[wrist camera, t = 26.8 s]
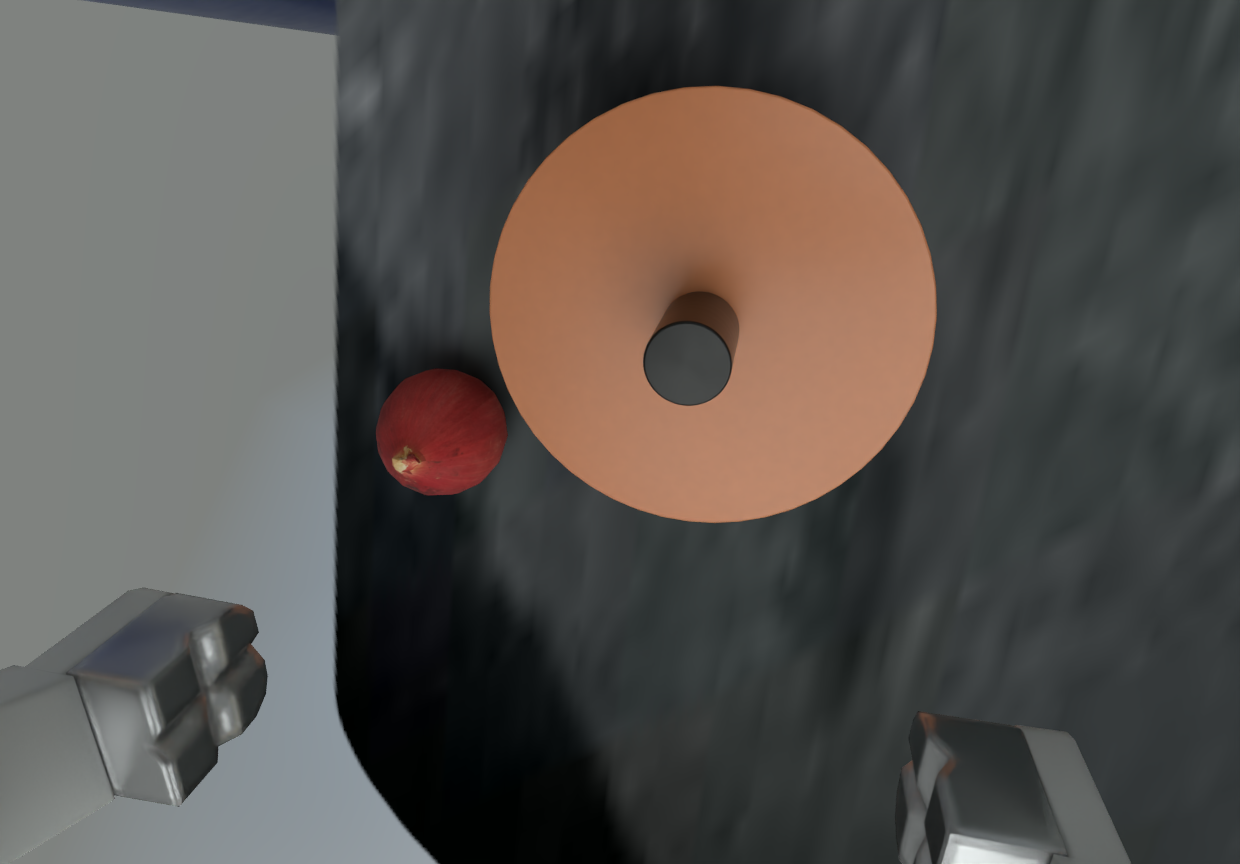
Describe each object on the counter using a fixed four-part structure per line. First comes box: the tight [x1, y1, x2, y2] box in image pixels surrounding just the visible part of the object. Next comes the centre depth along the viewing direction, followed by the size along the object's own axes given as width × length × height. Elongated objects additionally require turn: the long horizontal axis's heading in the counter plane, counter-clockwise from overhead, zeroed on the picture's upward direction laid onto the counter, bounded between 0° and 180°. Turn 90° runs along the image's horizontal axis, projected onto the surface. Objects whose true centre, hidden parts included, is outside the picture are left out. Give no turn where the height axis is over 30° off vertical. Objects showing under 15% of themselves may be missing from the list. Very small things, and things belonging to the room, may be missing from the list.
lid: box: [490, 86, 937, 523], centre depth 23 cm, size 14×14×5 cm
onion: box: [376, 369, 508, 495], centre depth 35 cm, size 6×6×8 cm
